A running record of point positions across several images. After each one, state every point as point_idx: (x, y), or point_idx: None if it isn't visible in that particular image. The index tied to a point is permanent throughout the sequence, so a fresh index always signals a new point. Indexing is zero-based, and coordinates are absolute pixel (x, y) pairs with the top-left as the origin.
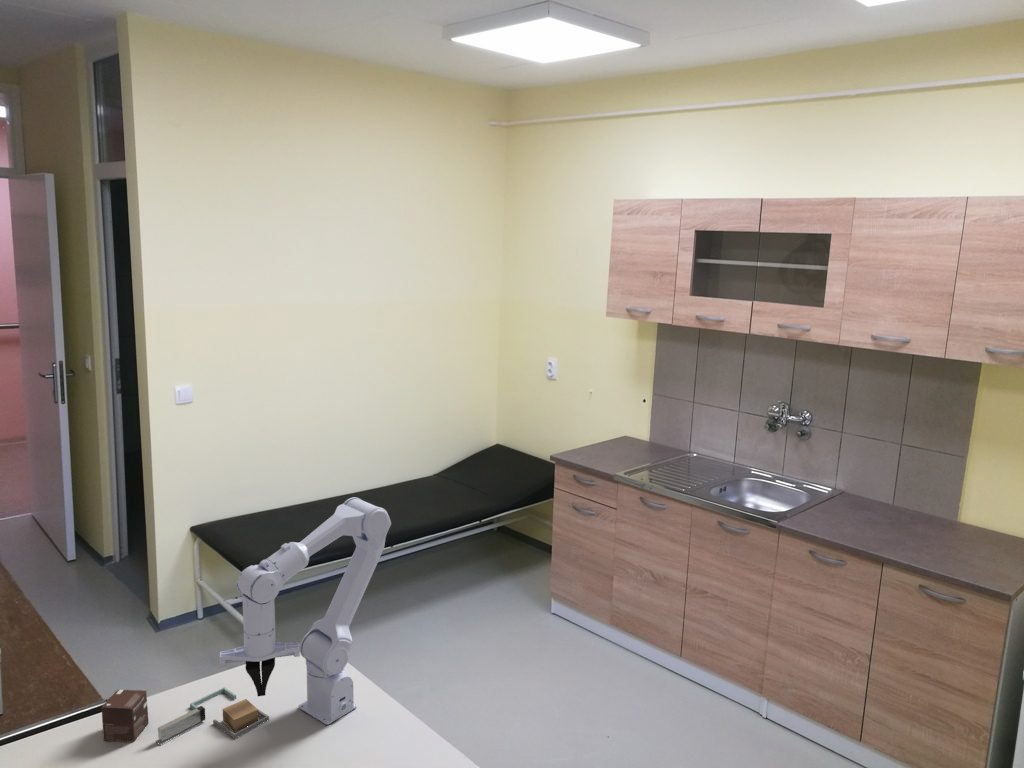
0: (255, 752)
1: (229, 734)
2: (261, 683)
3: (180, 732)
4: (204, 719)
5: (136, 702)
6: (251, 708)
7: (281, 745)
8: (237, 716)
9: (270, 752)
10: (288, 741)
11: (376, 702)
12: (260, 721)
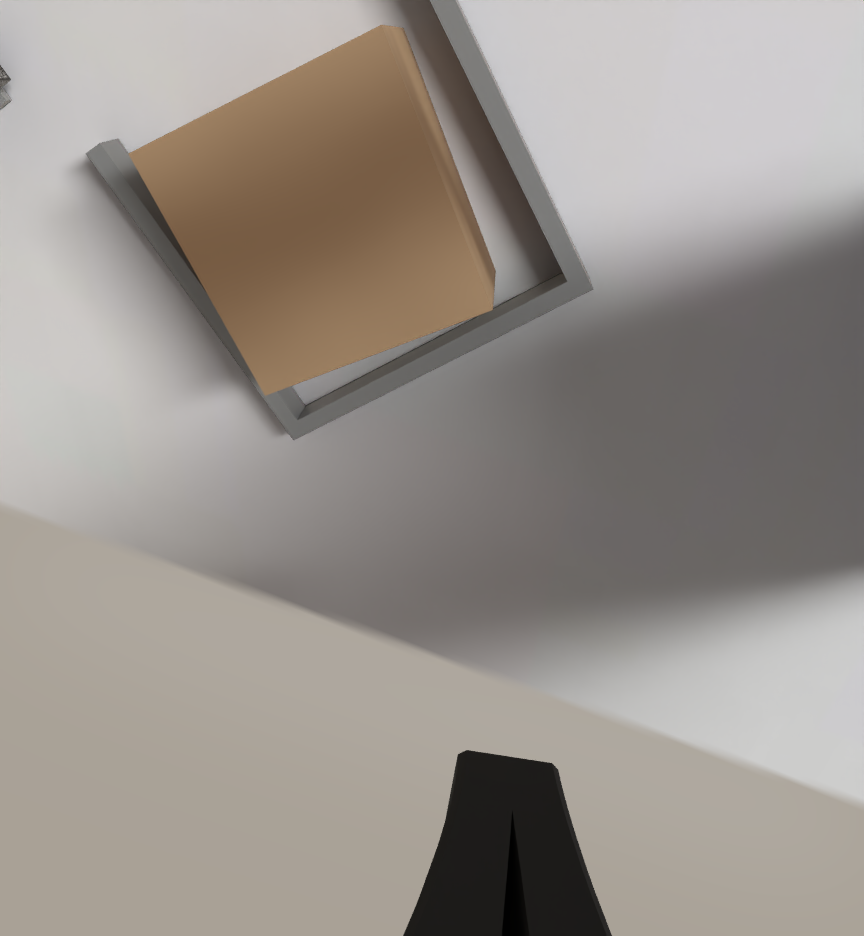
0: (436, 601)
1: None
2: (510, 823)
3: None
4: (2, 84)
5: None
6: (430, 262)
7: (608, 600)
8: (292, 350)
9: (527, 633)
10: (664, 582)
11: None
12: (508, 329)
